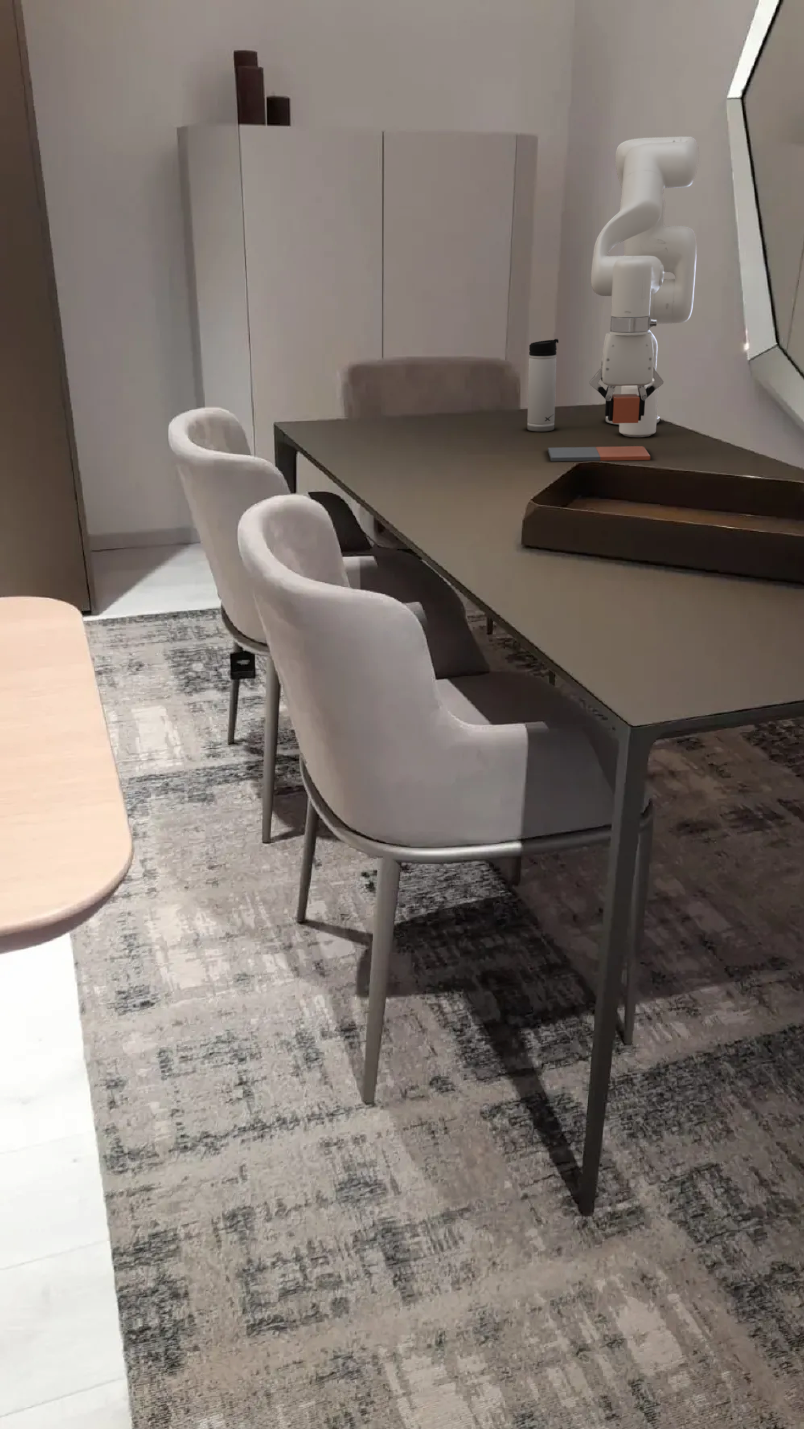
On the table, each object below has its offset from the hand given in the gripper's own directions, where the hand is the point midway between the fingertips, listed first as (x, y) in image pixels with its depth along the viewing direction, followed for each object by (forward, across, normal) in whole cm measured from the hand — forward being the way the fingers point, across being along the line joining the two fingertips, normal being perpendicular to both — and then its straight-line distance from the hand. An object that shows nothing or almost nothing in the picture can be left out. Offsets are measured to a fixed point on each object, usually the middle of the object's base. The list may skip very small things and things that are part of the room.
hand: (624, 418), depth 225 cm
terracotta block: (0, 0, 0) cm, 0 cm away
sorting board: (+7, +5, 0) cm, 9 cm away
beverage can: (+7, -6, -22) cm, 24 cm away
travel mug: (+7, +15, -30) cm, 35 cm away
